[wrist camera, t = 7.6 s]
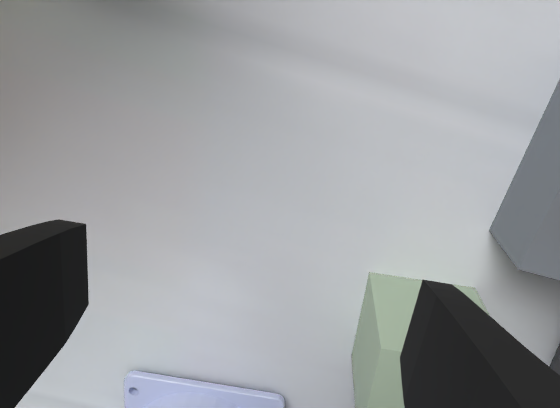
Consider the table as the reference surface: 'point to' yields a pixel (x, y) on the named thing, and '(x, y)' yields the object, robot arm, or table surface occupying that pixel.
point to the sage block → (386, 338)
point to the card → (556, 362)
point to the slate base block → (535, 201)
